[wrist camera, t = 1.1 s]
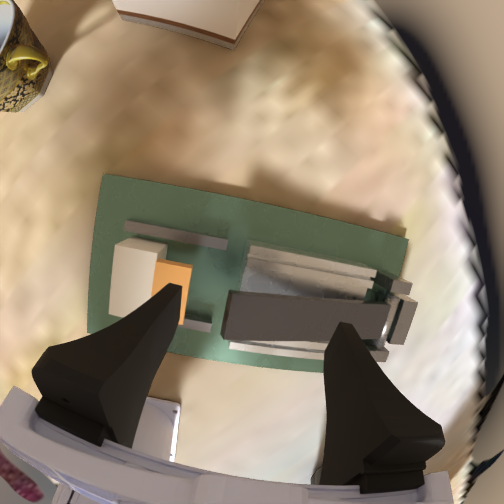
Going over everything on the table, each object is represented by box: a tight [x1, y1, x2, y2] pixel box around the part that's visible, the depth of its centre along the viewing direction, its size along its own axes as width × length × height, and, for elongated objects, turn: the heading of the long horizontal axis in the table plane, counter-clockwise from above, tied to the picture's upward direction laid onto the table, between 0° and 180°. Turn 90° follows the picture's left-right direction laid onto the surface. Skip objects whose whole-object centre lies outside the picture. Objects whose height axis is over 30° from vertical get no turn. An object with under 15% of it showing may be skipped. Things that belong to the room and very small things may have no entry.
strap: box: [220, 290, 401, 347], centre depth 21 cm, size 4×15×1 cm, turn 78°
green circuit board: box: [87, 174, 418, 373], centre depth 24 cm, size 14×28×4 cm, turn 78°
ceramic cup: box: [0, 0, 53, 113], centre depth 16 cm, size 13×10×10 cm
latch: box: [109, 236, 193, 325], centre depth 22 cm, size 5×5×5 cm
